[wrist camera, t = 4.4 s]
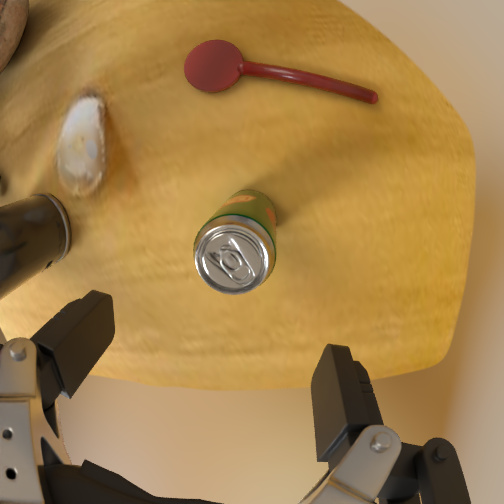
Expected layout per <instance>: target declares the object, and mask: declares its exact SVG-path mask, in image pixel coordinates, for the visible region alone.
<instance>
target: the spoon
mask: <svg viewBox="0 0 504 504" xmlns="http://www.w3.org/2000/svg"><path fill="white" fill-rule="evenodd" d="M184 72H185V76H186V78H187V80H188V82H189V83H190V84H191V85H192V86H194V87H195V88H197V89H198V90H201V91H204V92H209V93H214V92H220V91H223V90H226V89H228V88H229V87H231V86H232V85H234V84H235V83H236V82H237V81H238V79H239V78H240V76H241V74H242V75H249V76H256V77H263V78H269V79H275V80H280V81H285V82H290V83H295V84H300V85H304V86H309V87H313V88H317V89H321V90H325V91H329V92H333V93H336V94H340V95H343V96H347V97H350V98H353V99H357V100H360V101H363V102H366V103H369V104H375V103H376V102H377V101H378V95H377V93H376V92H375V91H373V90H370V89H367V88H364V87H361V86H358V85H354V84H351V83H348V82H344V81H341V80H337V79H334V78H330V77H326V76H322V75H318V74H314V73H310V72H306V71H301V70H296V69H292V68H286V67H281V66H275V65H270V64H263V63H256V62H249V61H243V58H242V55H241V53H240V51H239V50H238V49H237V48H236V47H235V46H234V45H233V44H231V43H229V42H227V41H223V40H210V41H206V42H204V43H201V44H200V45H198V46H196V47H195V48H194V49H193V50H192V51H191V52H190V53H189V55H188V56H187V58H186V61H185V65H184Z"/></svg>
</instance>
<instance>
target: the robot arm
mask: <svg viewBox="0 0 504 504" xmlns="http://www.w3.org/2000/svg"><path fill="white" fill-rule="evenodd" d="M70 240H71V232H70V225H69V221H68V217H67V215H66V212H65V210H64V208H63V207H62V205H61V204H60V202H59V201H58V200H57V199H56V198H55V197H53V196H52V195H50V194H48V193H39V194H36V195H34V196H32V197H29V198H26V199H23V200H20V201H17V202H14V203H11V204H8V205H5V206H2V207H0V300H1V299H3V298H4V297H5V296H7V295H8V294H9V293H11V292H12V291H14V290H15V289H16V288H18V287H19V286H21V285H22V284H24V283H25V282H26V281H28V280H29V279H31V278H32V277H34V276H35V275H37V274H38V273H40V272H41V271H42V272H43V270H45V269H46V268H48V267H49V266H50V267H51V265H52V264H54V263H57V262H58V261H60V260H61V259H63V258H64V257H65V256H66V254H67V252H68V250H69V247H70ZM114 334H115V323H114V312H113V300H112V297H111V295H108V294H105V293H102V292H99V291H96V290H92V291H90V292H89V293H88V294H87V295H86V296H85V297H83V298H82V299H80V298H79V299H77V300H75V301H73V302H70V303H68V304H67V305H66V306H65V307H64V308H62V309H61V310H60V313H59V312H58V313H57V314H56V315H55V316H54V318H51V319H50V320H49V321H48V322H47V323H46V324H45V325H44V326H43V327H42V328H41V329H40V330H39V331H37V332H36V333H35V334H34V335H33V336H32V337H31V338H30V339H27V338H21V337H19V338H14V339H11V340H9V341H8V342H7V343H5V344H4V345H3V344H0V504H222V503H216V502H211V501H205V500H201V499H178V498H163V497H156V496H153V495H151V494H149V493H148V492H146V491H144V490H142V489H141V488H139V487H137V486H136V485H134V484H133V483H131V482H129V481H128V480H126V479H125V478H123V477H122V476H120V475H119V474H116V473H114V472H112V471H109V470H107V469H105V468H102V467H100V466H98V465H96V464H94V463H92V462H90V461H87V460H84V462H83V464H82V466H78V465H72V463H71V460H70V458H69V455H68V453H67V451H66V448H65V445H64V441H63V436H62V430H61V423H60V417H59V409H58V402H57V400H56V398H57V397H58V396H59V394H62V395H64V396H65V397H67V398H69V399H71V398H72V396H73V395H74V393H75V392H76V390H77V389H78V387H79V386H80V384H81V383H82V382H83V380H84V379H85V378H86V376H87V375H88V373H89V372H90V371H91V369H92V368H93V367H94V365H95V364H96V362H97V361H98V360H99V358H100V357H101V356H102V354H103V353H104V352H105V350H106V349H107V348H108V346H109V345H110V344H111V342H112V340H113V338H114ZM311 395H312V405H313V416H314V427H315V438H316V452H317V462H328V464H329V469H328V470H327V471H326V473H325V474H324V475H323V476H322V477H321V479H320V480H319V481H318V482H317V483H316V484H315V486H314V487H313V488H312V489H311V490H310V491H309V493H307V495H306V496H305V497H304V498H303V499H302V500H301V501H300V502H299V503H298V504H377V503H375V502H374V501H375V499H376V497H378V498H379V504H421V503H420V497H419V493H420V495H421V500H422V504H471V501H470V497H469V493H468V490H467V486H466V482H465V479H464V475H463V472H462V469H461V466H460V462H459V459H458V456H457V453H456V451H455V448H454V447H453V446H452V444H451V443H450V442H449V441H447V440H445V439H442V438H433V439H430V440H429V441H428V442H427V443H426V444H425V445H424V446H417V445H412V444H407V443H403V442H401V440H400V438H399V436H398V435H397V433H395V431H393V430H392V429H390V428H389V427H387V426H384V424H383V420H382V417H381V414H380V411H379V407H378V404H377V401H376V397H375V394H374V393H373V388H372V385H371V384H370V379H369V376H368V373H367V371H366V369H365V368H364V367H363V366H362V365H361V363H360V362H359V361H353V359H352V355H351V352H350V349H349V347H348V346H341V345H333V344H327V345H326V347H325V349H324V351H323V354H322V356H321V358H320V360H319V363H318V365H317V367H316V369H315V372H314V374H313V377H312V382H311Z"/></svg>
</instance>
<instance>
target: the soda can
mask: <svg viewBox="0 0 504 504" xmlns="http://www.w3.org/2000/svg"><path fill="white" fill-rule="evenodd" d="M193 251H194V259H195V263H196V268H197V270H198V273H199V275H200V276H201V278H202V279H203V280H204V282H205V283H206V284H208V285H209V286H210V287H211V288H213V289H215V290H217V291H219V292H221V293H225V294H231V295H237V294H244V293H247V292H249V291H252V290H253V289H255V288H256V287H258V286H259V285H261V284H262V283H263V282H265V281H266V279H267V278H268V277H269V276H270V274H271V273H272V271H273V268H274V266H275V262H276V211H275V208H274V206H273V204H272V202H271V201H270V199H269V198H268V197H267V196H265V195H264V194H262V193H260V192H258V191H254V190H243V191H240V192H237V193H235V194H234V195H232V196H231V197H230V198H229V199H228V200H227V201H226V202H225V203H224V204H223V205H222V206H221V208H220V209H219V210H218V211H217V212H216V213H215V214H214V215H213V216H212V217H211V218H210V219H209V220H208V221H207V222H206V223H205V225H204V226H203V227H202V228H201V229H200V231H199V232H198V234H197V236H196V239H195V242H194V249H193Z"/></svg>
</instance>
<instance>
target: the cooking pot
mask: <svg viewBox="0 0 504 504" xmlns="http://www.w3.org/2000/svg"><path fill="white" fill-rule="evenodd" d="M28 11H29V0H0V73H1V72H2V71H3V69H4V68H5V66H6V65H7V63H8V62H9V60H10V59H11V57H12V55H13V54H14V52H15V51H16V49H17V47H18V45H19V43H20V40H21V37H22V34H23V31H24V28H25V25H26V22H27V17H28Z"/></svg>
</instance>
